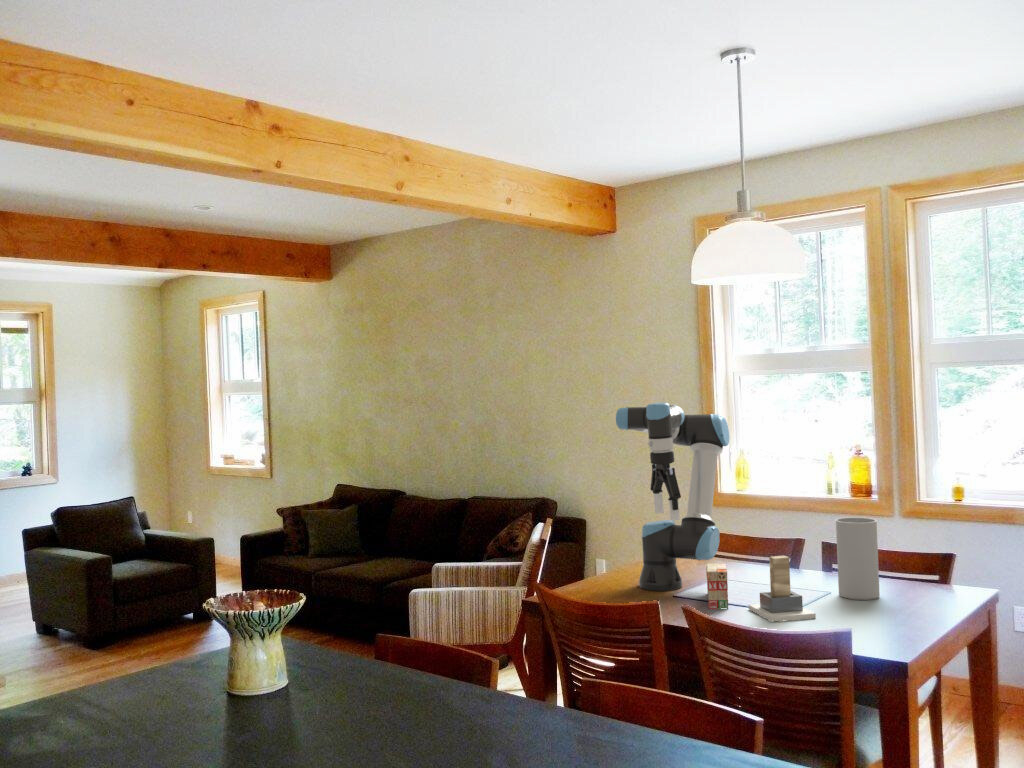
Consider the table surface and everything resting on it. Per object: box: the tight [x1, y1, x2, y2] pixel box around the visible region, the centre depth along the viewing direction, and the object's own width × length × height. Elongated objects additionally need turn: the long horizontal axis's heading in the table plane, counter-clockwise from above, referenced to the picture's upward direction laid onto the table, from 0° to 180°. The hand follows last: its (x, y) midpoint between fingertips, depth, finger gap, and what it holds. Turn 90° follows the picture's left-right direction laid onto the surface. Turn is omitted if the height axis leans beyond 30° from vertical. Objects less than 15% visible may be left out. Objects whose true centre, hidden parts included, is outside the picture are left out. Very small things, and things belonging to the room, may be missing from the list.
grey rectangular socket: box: [759, 590, 804, 613], centre depth 272 cm, size 8×10×4 cm
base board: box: [748, 603, 817, 622], centre depth 272 cm, size 16×14×2 cm
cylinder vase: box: [835, 516, 881, 601], centre depth 291 cm, size 12×12×25 cm
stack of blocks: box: [705, 563, 729, 610], centre depth 291 cm, size 21×6×12 cm, turn 168°
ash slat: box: [768, 555, 791, 597], centre depth 272 cm, size 3×5×16 cm, turn 100°
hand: (667, 516), depth 284 cm, fingers open, 13 cm apart
